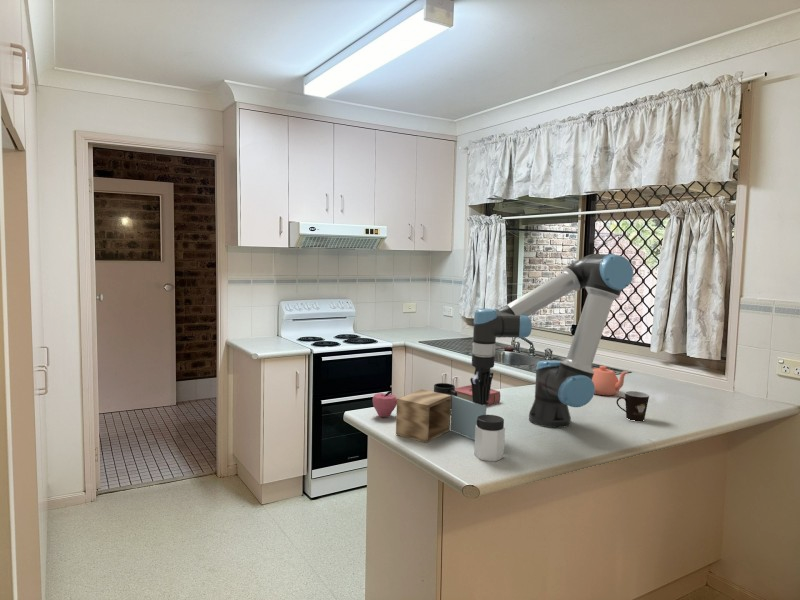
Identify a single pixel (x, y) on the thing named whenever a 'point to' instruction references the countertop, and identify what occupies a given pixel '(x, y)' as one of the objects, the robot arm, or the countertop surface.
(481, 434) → the jar
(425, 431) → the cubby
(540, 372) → the robot arm
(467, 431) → the door
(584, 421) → the countertop surface
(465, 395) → the book
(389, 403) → the apple
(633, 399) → the coffee mug
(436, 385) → the mug
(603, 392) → the teapot
